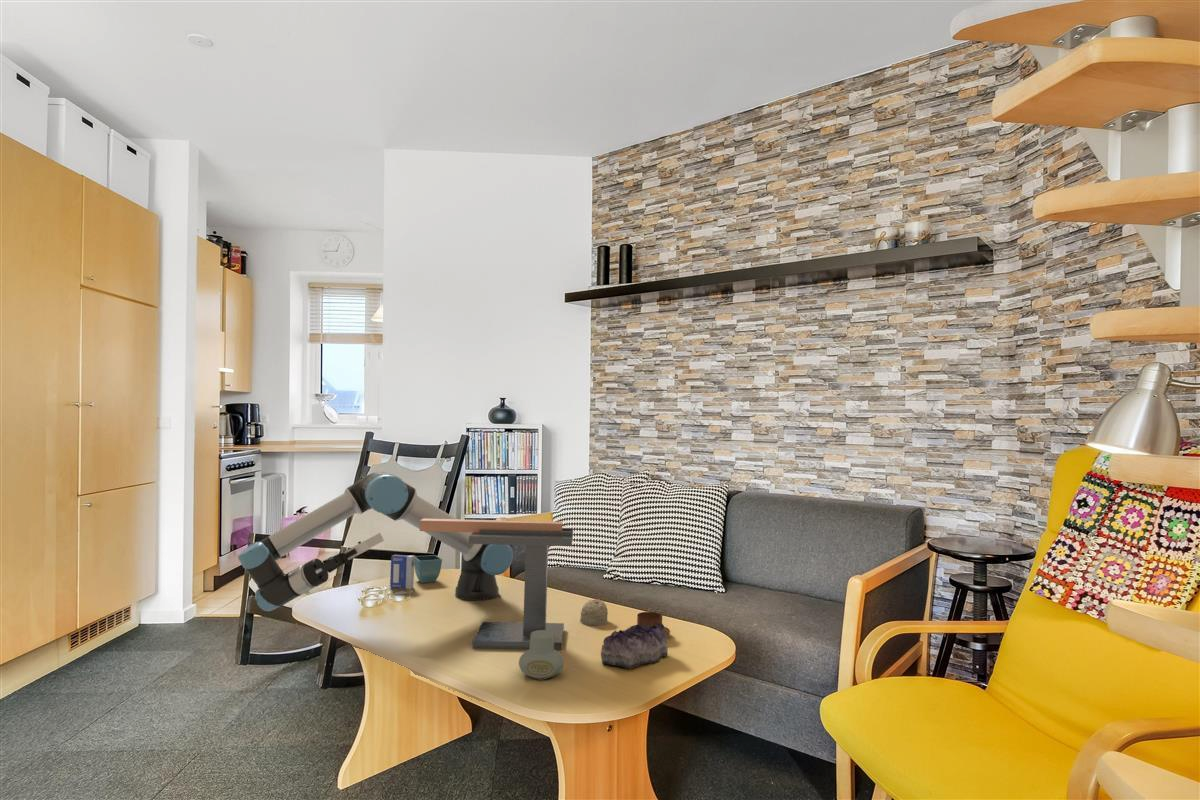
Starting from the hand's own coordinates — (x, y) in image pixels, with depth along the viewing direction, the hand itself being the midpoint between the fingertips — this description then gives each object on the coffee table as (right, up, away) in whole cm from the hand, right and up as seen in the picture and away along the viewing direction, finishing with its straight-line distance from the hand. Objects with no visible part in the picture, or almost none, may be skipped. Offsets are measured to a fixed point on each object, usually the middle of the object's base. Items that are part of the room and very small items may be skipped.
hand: (374, 540), depth 198 cm
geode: (+75, -27, -21) cm, 83 cm away
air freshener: (+52, -26, -33) cm, 67 cm away
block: (+35, +4, -5) cm, 36 cm away
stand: (+43, -27, -6) cm, 51 cm away
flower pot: (0, -28, +60) cm, 67 cm away
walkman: (-7, -28, +49) cm, 57 cm away
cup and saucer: (+80, -28, 0) cm, 85 cm away
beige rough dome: (+64, -28, +12) cm, 71 cm away
